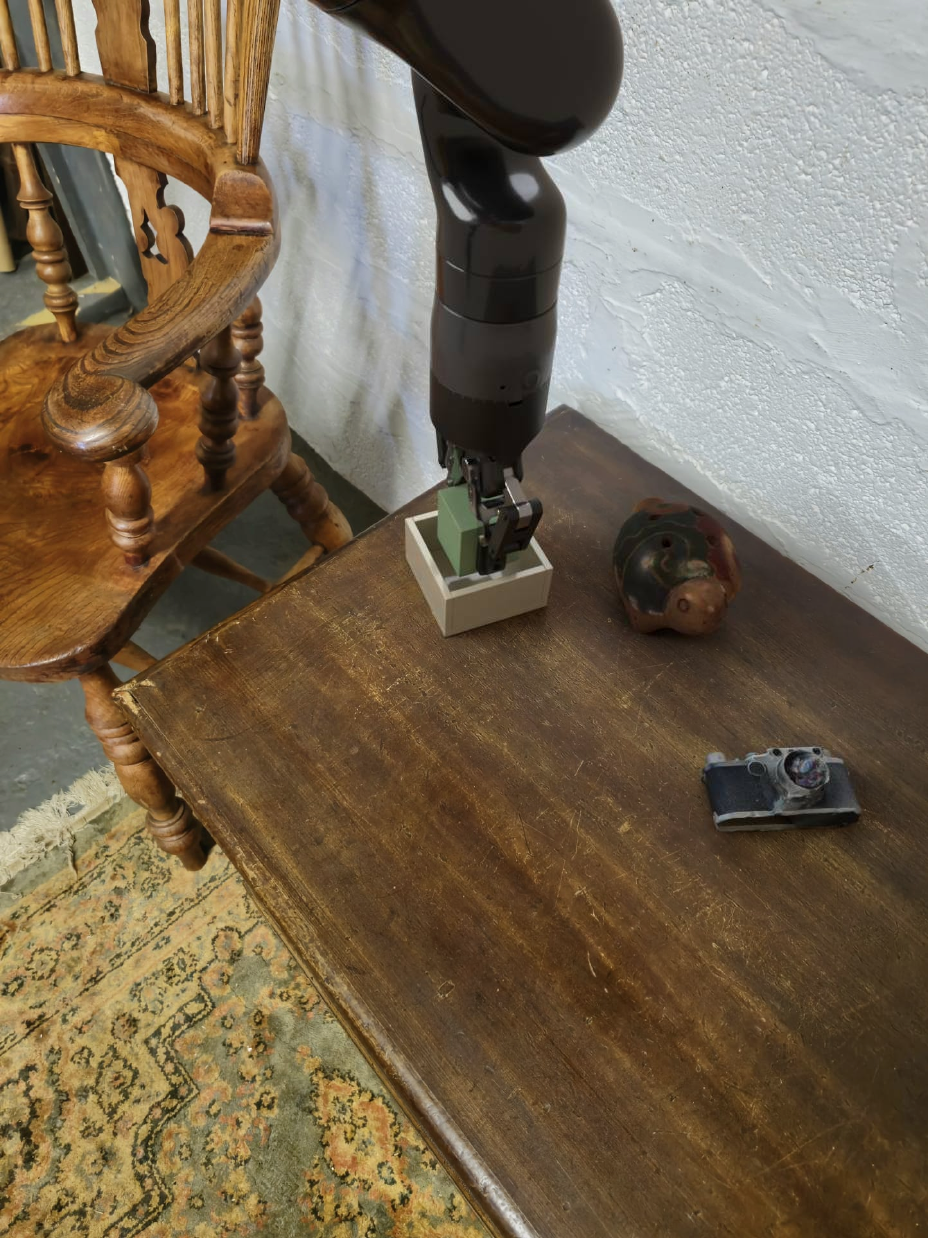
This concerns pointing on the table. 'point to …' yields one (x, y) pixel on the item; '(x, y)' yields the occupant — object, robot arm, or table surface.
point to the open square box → (473, 581)
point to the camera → (780, 790)
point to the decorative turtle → (675, 568)
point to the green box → (461, 529)
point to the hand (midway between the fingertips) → (477, 546)
